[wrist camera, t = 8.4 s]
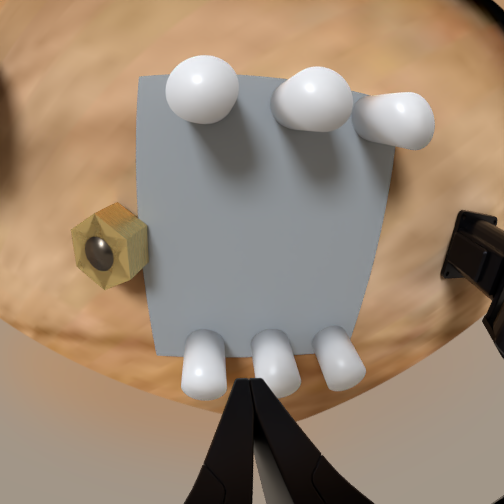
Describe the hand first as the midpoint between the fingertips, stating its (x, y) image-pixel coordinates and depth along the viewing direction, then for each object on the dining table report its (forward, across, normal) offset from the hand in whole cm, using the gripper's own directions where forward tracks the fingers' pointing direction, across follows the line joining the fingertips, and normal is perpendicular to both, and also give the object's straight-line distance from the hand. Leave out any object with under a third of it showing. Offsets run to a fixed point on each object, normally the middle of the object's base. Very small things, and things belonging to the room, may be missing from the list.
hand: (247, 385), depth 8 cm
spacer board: (+12, -2, 0) cm, 12 cm away
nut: (+11, +7, 0) cm, 13 cm away
